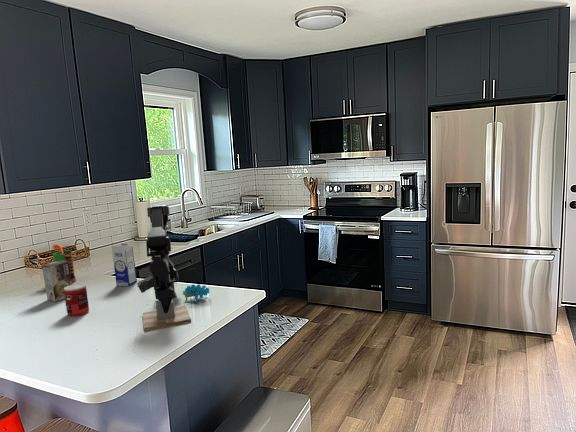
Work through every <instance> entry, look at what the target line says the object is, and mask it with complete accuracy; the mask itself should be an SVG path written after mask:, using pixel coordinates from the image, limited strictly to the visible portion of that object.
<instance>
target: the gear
mask: <svg viewBox="0 0 576 432" xmlns="http://www.w3.org/2000/svg"><path fill="white" fill-rule="evenodd" d="M208 294H210V288H209V287H206V285H202V286H201V284H196V285H195V284H191V286H190V285H187V287H186V288H185V289H184V290H183V291H182V295H183V296H184V298H185V301H184V302H185V303H188V298H191V297H194V298H195V301H194V302H195V303H198V302H199V297H200V298H202V297H206V296H208Z"/></svg>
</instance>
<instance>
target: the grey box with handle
mask: <svg viewBox="0 0 576 432" xmlns="http://www.w3.org/2000/svg"><path fill="white" fill-rule="evenodd" d="M174 307H175V305H174V300H173V299H172V301H171V304H170V307H169V310H168V313H164V310H163V307H162V304H161V301H159V300H155V311H156V312H157V318H158V320H159V319H165V318H170V317H175V312H174Z"/></svg>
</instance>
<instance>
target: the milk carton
mask: <svg viewBox="0 0 576 432" xmlns="http://www.w3.org/2000/svg"><path fill="white" fill-rule="evenodd" d="M120 244H121V245H111V252H112V259H113V260H112V261H113V269H114V276H115V284H116V287H130V286H132V285H134V284H137V283H138V280H137V272H136V262H135V253H134V246H133V245H128V243H120Z"/></svg>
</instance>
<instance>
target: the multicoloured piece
mask: <svg viewBox="0 0 576 432" xmlns="http://www.w3.org/2000/svg"><path fill="white" fill-rule="evenodd" d="M52 246H53V248H52V249H53V250H58V251H56V252H53V253H52V260H53V262H56V261H60V260H63V261H69V267H70V273H71V279H72V284H74V283H76V282H77V277H76V276H75V275H76V274H75V267H74V258H73V253H72V250H71V249H70V250H69V249H68V250H67V249H65V250H63V247H62V245H61V244H59V243H56V244H52Z"/></svg>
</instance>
